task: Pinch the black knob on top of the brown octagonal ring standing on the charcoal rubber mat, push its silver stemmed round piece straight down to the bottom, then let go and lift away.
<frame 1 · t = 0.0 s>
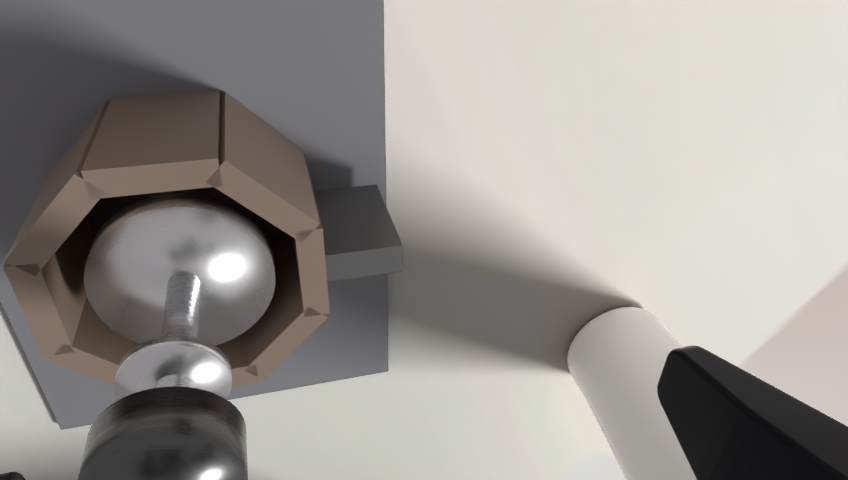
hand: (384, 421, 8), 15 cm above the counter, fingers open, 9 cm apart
brown octagonal ring: (191, 205, 21), resting on mat
mat: (191, 201, 22), on the counter
silver stemmed round piece: (177, 361, 15), point 8 cm above the counter, slide at 0.0 cm
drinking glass: (607, 338, 32), on the counter
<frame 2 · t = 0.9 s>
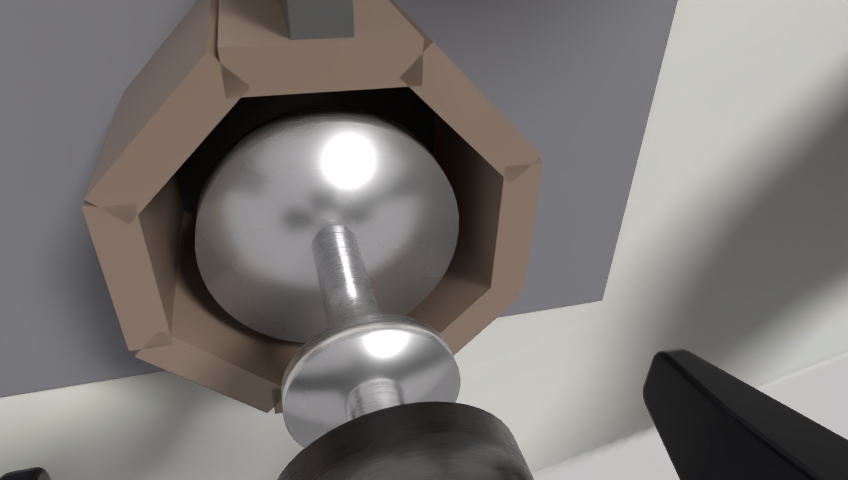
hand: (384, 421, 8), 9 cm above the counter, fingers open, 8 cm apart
brown octagonal ring: (308, 146, 16), resting on mat
mat: (307, 142, 16), on the counter
silver stemmed round piece: (363, 357, 10), point 8 cm above the counter, slide at 0.0 cm
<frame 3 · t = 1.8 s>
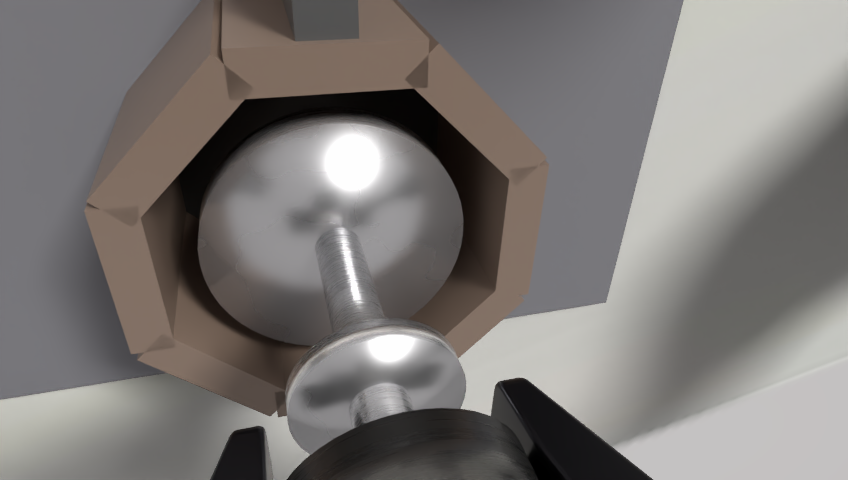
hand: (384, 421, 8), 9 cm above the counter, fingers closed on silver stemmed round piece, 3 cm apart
brown octagonal ring: (311, 148, 16), resting on mat
mat: (310, 143, 16), on the counter
silver stemmed round piece: (368, 361, 9), point 8 cm above the counter, slide at 0.0 cm, touching gripper
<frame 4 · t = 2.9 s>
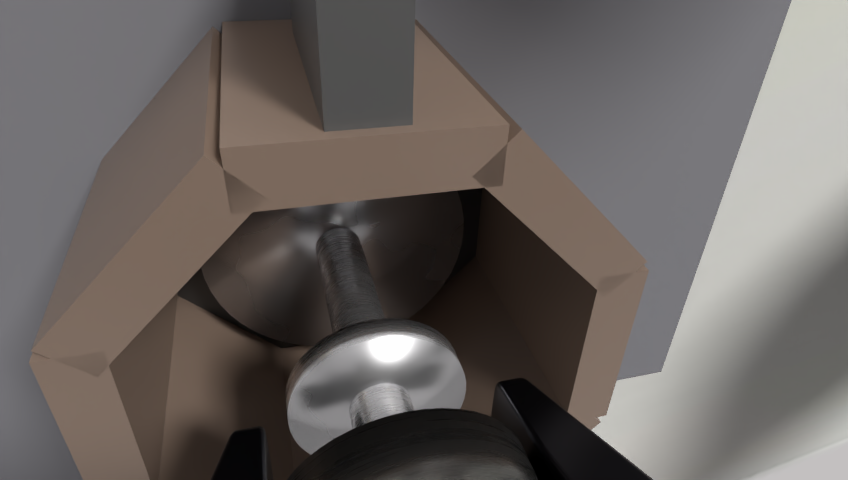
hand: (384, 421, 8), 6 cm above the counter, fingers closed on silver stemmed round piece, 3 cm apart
brown octagonal ring: (330, 217, 13), resting on mat
mat: (328, 210, 13), on the counter
silver stemmed round piece: (368, 361, 9), point 5 cm above the counter, slide at 3.5 cm, touching gripper
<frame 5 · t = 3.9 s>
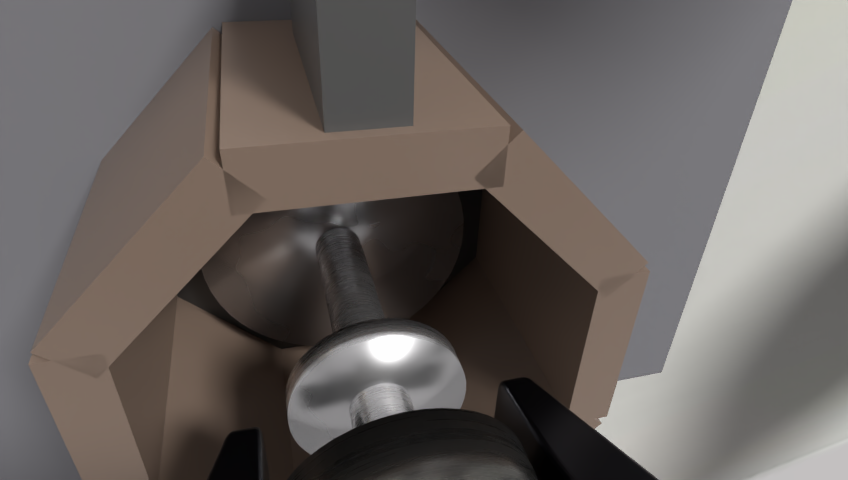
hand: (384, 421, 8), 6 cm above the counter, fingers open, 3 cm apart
brown octagonal ring: (330, 218, 13), resting on mat
mat: (328, 211, 13), on the counter
silver stemmed round piece: (368, 361, 9), point 5 cm above the counter, slide at 3.5 cm
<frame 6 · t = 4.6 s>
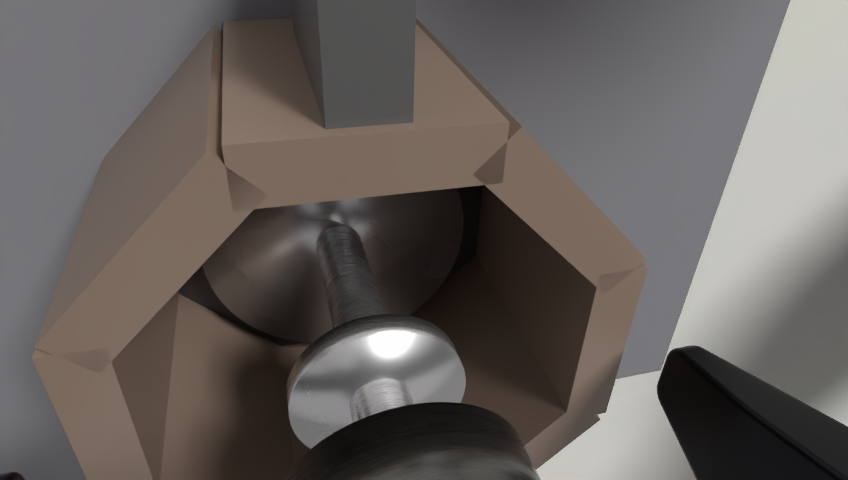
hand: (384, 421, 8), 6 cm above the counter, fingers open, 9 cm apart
brown octagonal ring: (331, 216, 13), resting on mat
mat: (329, 209, 13), on the counter
silver stemmed round piece: (368, 357, 10), point 5 cm above the counter, slide at 3.5 cm
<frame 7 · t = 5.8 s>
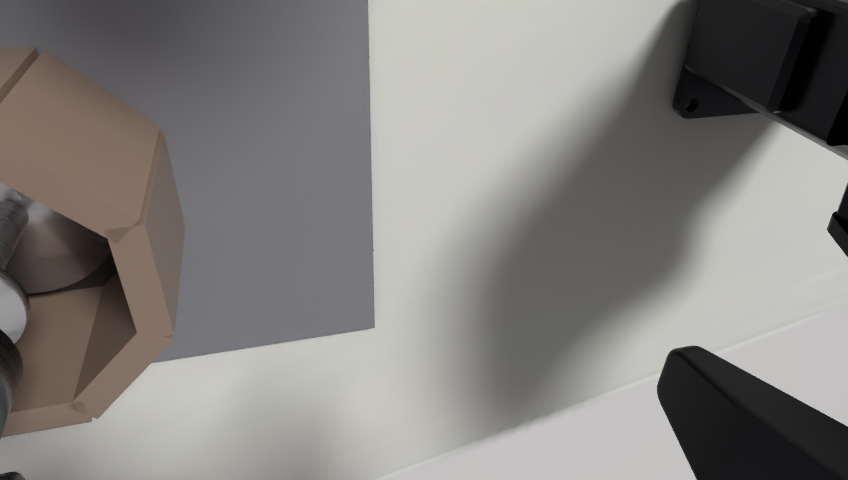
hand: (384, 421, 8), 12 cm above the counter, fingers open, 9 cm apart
brown octagonal ring: (20, 196, 17), resting on mat
mat: (23, 191, 17), on the counter
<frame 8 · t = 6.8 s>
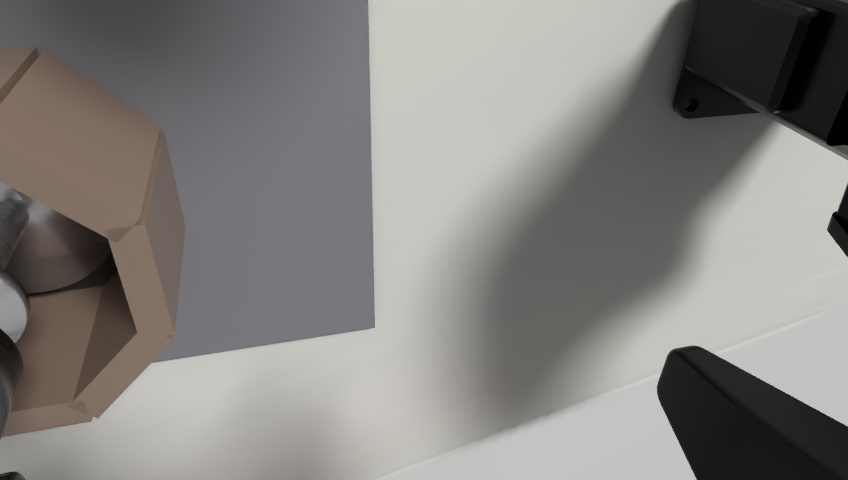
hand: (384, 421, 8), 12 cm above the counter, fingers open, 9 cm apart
brown octagonal ring: (20, 196, 17), resting on mat
mat: (23, 190, 17), on the counter
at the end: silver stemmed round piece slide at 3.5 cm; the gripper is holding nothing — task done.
